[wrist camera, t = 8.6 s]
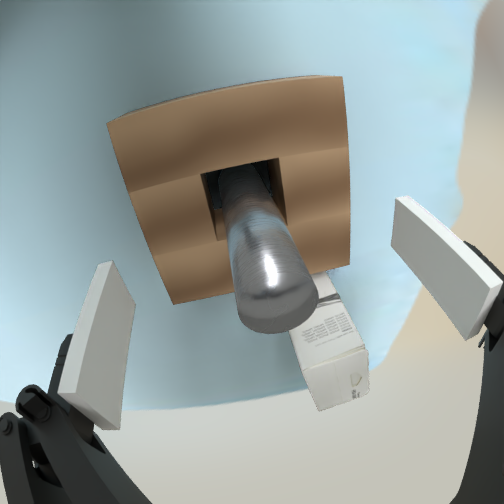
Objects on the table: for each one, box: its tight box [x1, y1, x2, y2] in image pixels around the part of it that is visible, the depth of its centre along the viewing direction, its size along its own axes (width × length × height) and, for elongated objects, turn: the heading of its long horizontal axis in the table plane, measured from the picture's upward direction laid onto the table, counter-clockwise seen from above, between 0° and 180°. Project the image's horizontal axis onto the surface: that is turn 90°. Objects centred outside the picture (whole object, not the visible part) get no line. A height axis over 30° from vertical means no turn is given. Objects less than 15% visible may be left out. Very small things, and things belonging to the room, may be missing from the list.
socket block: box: [106, 75, 350, 305], centre depth 21 cm, size 14×14×5 cm
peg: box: [219, 163, 319, 334], centre depth 17 cm, size 3×3×14 cm
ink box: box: [288, 271, 369, 411], centre depth 25 cm, size 9×5×12 cm, turn 20°
